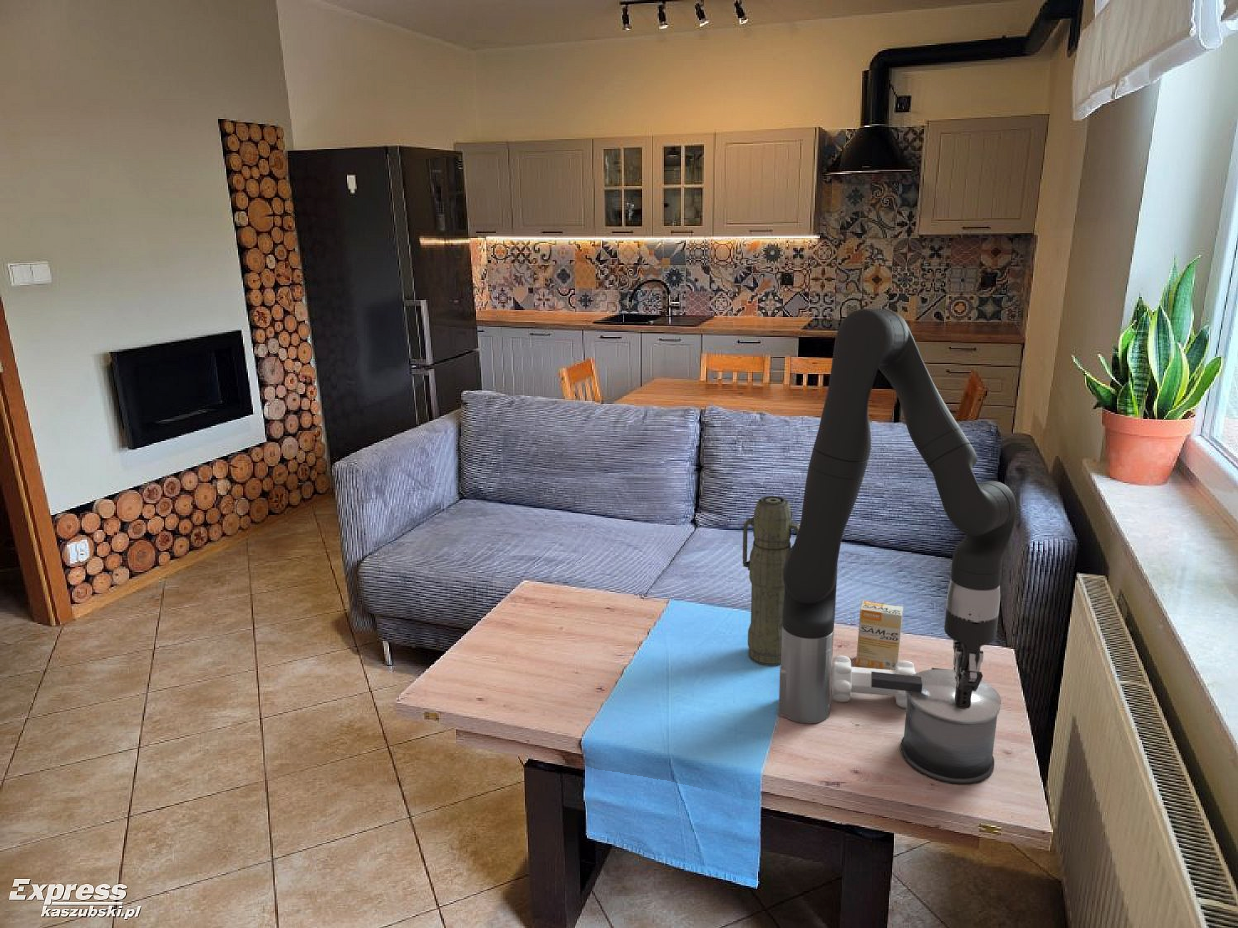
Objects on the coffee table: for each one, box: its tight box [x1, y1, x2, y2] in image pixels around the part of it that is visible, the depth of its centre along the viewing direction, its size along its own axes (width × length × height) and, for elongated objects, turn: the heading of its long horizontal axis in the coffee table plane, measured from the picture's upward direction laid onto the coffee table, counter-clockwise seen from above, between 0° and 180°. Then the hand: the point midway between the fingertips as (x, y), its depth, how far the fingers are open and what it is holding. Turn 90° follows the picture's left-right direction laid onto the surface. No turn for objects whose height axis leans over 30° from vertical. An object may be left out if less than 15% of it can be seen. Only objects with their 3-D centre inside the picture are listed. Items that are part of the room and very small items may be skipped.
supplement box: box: [855, 600, 904, 670], centre depth 166 cm, size 8×5×13 cm, turn 68°
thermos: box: [742, 495, 800, 668], centre depth 167 cm, size 9×12×35 cm
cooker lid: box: [871, 667, 1002, 724], centre depth 136 cm, size 20×15×3 cm
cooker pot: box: [900, 698, 998, 786], centre depth 137 cm, size 15×16×11 cm
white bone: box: [831, 655, 917, 709], centre depth 155 cm, size 15×9×8 cm, turn 78°
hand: (962, 705), depth 131 cm, fingers closed
